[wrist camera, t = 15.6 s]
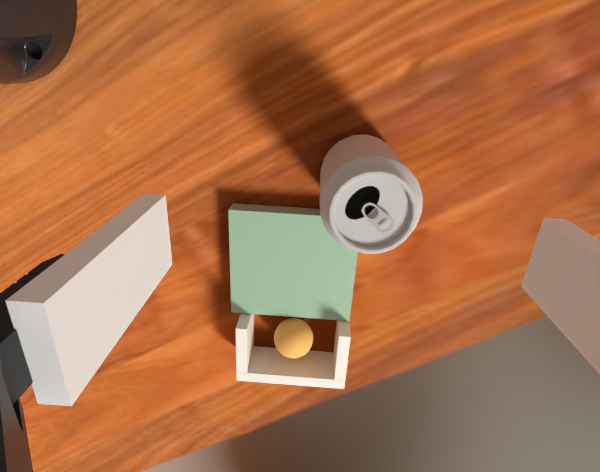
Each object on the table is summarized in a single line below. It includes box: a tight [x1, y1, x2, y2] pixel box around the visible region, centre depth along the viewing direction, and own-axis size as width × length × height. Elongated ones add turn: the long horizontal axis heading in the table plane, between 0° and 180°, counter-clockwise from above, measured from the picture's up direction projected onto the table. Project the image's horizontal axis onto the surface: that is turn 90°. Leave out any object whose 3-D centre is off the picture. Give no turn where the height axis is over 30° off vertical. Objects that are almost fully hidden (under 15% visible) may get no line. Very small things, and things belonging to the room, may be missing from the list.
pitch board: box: [228, 203, 358, 321], centre depth 41 cm, size 13×12×2 cm
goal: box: [236, 313, 351, 389], centre depth 44 cm, size 12×7×4 cm, turn 87°
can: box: [320, 134, 423, 254], centre depth 32 cm, size 8×8×12 cm
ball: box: [274, 318, 313, 358], centre depth 43 cm, size 4×4×4 cm
